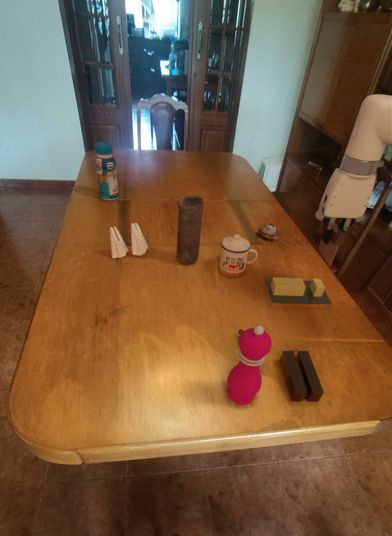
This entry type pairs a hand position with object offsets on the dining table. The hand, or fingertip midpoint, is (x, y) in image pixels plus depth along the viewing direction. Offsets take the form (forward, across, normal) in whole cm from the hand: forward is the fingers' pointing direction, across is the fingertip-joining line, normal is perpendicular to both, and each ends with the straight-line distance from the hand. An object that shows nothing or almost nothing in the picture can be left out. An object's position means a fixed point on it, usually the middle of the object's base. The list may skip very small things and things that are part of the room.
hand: (329, 241), depth 84 cm
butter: (+16, +8, 0) cm, 18 cm away
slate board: (+18, +4, 0) cm, 18 cm away
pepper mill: (+18, +26, +37) cm, 48 cm away
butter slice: (+16, -2, 0) cm, 17 cm away
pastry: (+18, +6, -37) cm, 42 cm away
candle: (+17, +37, -17) cm, 44 cm away
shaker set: (+17, +56, -19) cm, 62 cm away
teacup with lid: (+17, +21, -13) cm, 30 cm away
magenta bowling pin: (+18, +22, +24) cm, 37 cm away
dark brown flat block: (+4, 0, 0) cm, 4 cm away
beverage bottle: (+17, +70, -66) cm, 98 cm away
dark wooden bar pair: (+18, +12, +33) cm, 39 cm away
